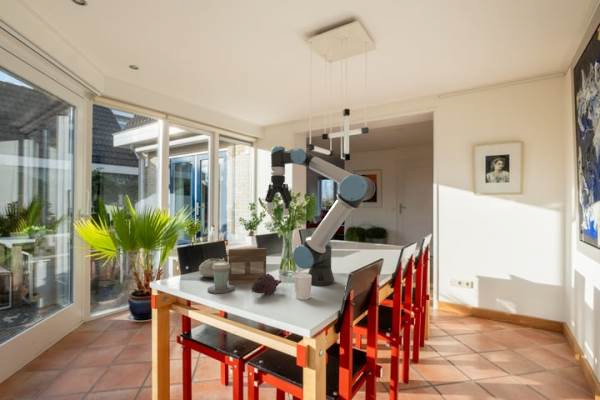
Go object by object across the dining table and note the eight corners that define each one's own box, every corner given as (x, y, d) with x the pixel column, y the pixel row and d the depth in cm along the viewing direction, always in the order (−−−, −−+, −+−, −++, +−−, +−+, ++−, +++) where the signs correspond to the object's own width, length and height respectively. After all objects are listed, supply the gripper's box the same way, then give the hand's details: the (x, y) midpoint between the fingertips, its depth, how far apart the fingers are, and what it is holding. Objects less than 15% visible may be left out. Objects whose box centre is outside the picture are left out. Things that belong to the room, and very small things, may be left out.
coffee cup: (225, 291, 142) (225, 265, 142) (208, 289, 144) (209, 264, 144) (232, 286, 150) (233, 262, 150) (217, 285, 152) (217, 261, 152)
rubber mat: (239, 290, 147) (239, 288, 147) (215, 295, 138) (215, 293, 138) (226, 284, 156) (226, 282, 156) (202, 289, 148) (202, 287, 148)
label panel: (228, 281, 163) (228, 248, 163) (265, 279, 167) (265, 247, 167) (228, 284, 157) (228, 250, 157) (266, 282, 161) (266, 249, 161)
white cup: (294, 294, 140) (294, 273, 140) (311, 295, 140) (311, 273, 140) (293, 300, 132) (294, 277, 133) (311, 300, 132) (311, 278, 132)
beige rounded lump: (233, 273, 182) (233, 256, 182) (226, 281, 164) (227, 262, 164) (204, 273, 182) (204, 256, 182) (194, 280, 164) (194, 262, 164)
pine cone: (258, 302, 129) (258, 279, 129) (243, 297, 136) (243, 275, 136) (285, 293, 143) (286, 272, 143) (271, 289, 149) (271, 269, 149)
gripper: (259, 176, 169) (258, 214, 169) (287, 173, 150) (287, 215, 150) (269, 177, 174) (269, 213, 174) (298, 174, 155) (298, 215, 155)
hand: (277, 214), depth 162 cm, fingers open, 13 cm apart
